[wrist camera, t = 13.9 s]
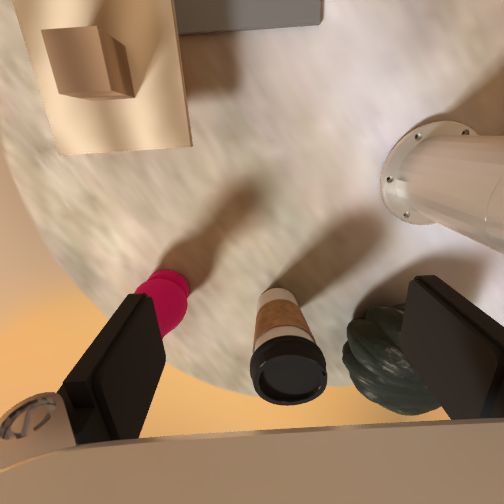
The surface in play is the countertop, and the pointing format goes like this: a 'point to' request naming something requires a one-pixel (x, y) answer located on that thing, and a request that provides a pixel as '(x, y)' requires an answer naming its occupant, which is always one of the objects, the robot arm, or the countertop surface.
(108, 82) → the lid
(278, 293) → the coffee cup
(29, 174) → the countertop surface
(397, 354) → the squash
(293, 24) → the tray
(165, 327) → the pepper mill
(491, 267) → the countertop surface
